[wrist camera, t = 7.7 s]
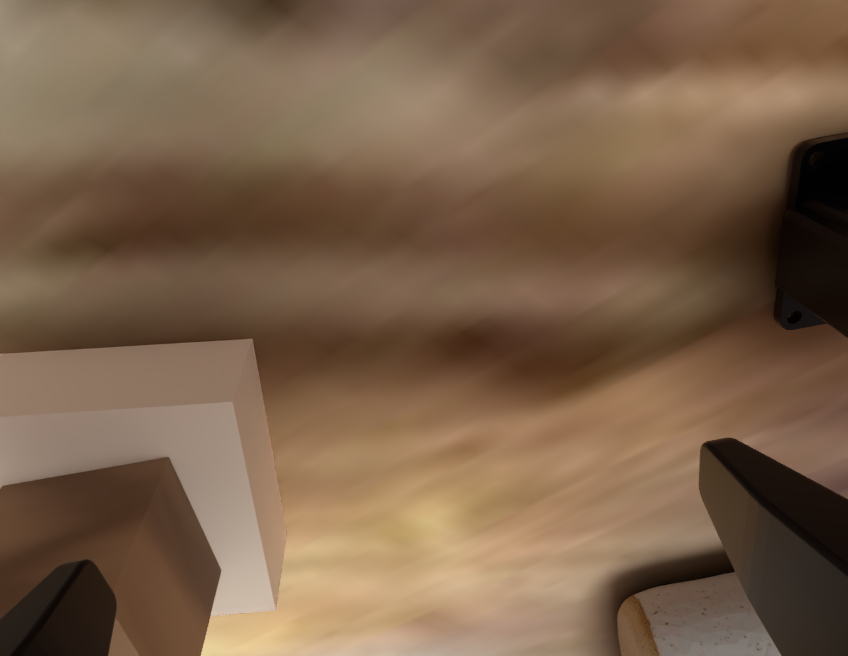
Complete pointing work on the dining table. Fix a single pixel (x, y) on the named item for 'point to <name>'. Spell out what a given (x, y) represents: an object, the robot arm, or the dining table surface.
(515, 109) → the dining table surface
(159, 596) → the walnut cube
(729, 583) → the ceramic mug
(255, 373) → the cream block
